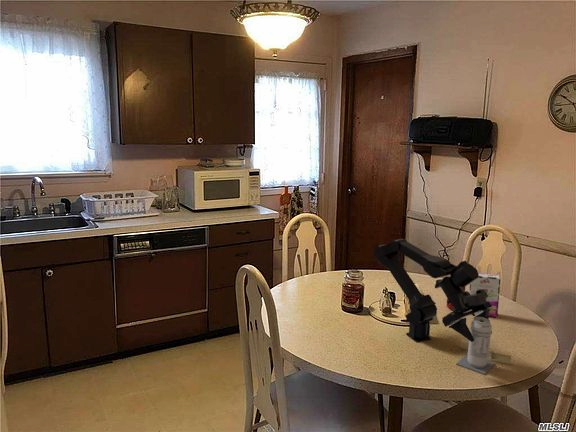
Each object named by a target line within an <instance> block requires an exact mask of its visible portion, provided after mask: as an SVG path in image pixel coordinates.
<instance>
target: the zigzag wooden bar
mask: <svg viewBox="0 0 576 432" xmlns="http://www.w3.org/2000/svg"><path fill="white" fill-rule="evenodd" d="M468 348H469V340H468V339H461V344H460V349H461V350H466V351H468ZM488 361H491V362H495V363H496V362H497V363H501V364H505V365H509V366H510V365H511V363H512V354H510V353H505V352H500V351H495V350H492V349H491V348H489V354H488Z"/></svg>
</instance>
